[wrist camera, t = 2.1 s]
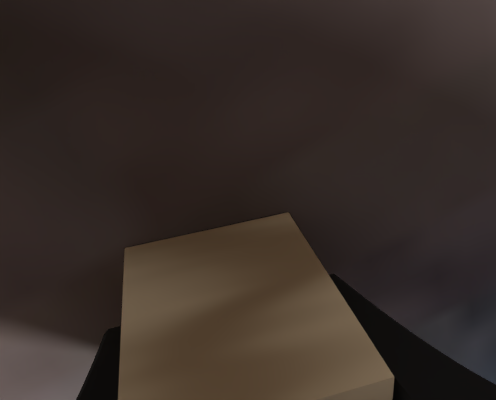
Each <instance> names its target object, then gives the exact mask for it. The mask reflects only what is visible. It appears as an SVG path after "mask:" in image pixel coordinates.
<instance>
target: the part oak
mask: <svg viewBox="0 0 496 400" xmlns="http://www.w3.org/2000/svg"><path fill="white" fill-rule="evenodd" d="M393 389H394V375H393V374H392V372H391V371H390V369H389V368H388V366H387V365H386V363H385V361H384V360H383V358H382V357H381V355H380V354H379V352H378V351H377V349H376V348H375V346H374V344H373V343H372V341H371V340H370V338H369V337H368V335H367V334H366V332H365V330H364V329H363V327H362V326H361V324H360V323H359V321H358V320H357V318H356V316H355V315H354V313H353V312H352V310H351V309H350V307H349V306H348V304H347V303H346V301H345V299H344V298H343V296H342V295H341V293H340V292H339V290H338V289H337V287H336V285H335V284H334V282H333V281H332V279H331V278H330V276H329V275H328V273H327V271H326V270H325V268H324V267H323V265H322V264H321V262H320V261H319V259H318V258H317V256H316V254H315V253H314V251H313V250H312V248H311V247H310V245H309V244H308V242H307V240H306V239H305V237H304V236H303V234H302V233H301V231H300V230H299V228H298V226H297V225H296V223H295V222H294V220H293V219H292V217H291V216H290V214H289V213H283V214H278V215H274V216H269V217H265V218H260V219H256V220H251V221H246V222H242V223H237V224H233V225H228V226H224V227H219V228H214V229H210V230H205V231H201V232H196V233H192V234H187V235H182V236H178V237H173V238H169V239H164V240H160V241H155V242H150V243H146V244H141V245H137V246H132V247H128V248H125V252H124V275H123V297H122V320H121V342H120V365H119V387H118V400H393Z"/></svg>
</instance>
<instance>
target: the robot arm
mask: <svg viewBox="0 0 496 400" xmlns="http://www.w3.org/2000/svg"><path fill="white" fill-rule="evenodd" d="M329 276H330V278H331V279H332V281H333V282H334V284H335V285H336V287H337V289H338V290H339V292H340V293H341V295H342V296H343V298H344V299H345V301H346V303H347V304H348V306H349V307H350V309H351V310H352V312H353V313H354V315H355V316H356V318H357V320H358V321H359V323H360V324H361V326H362V327H363V329H364V330H365V332H366V334H367V335H368V337H369V338H370V340H371V341H372V343H373V344H374V346H375V348H376V349H377V351H378V352H379V354H380V355H381V357H382V358H383V360H384V361H385V363H386V365H387V366H388V368H389V369H390V371H391V372H392V374H393V375H394V389H393V400H496V385H495V384H493V383H491V382H490V381H488V380H486V379H484V378H482V377H481V376H479V375H477V374H475V373H474V372H472V371H470V370H469V369H467V368H465V367H464V366H462V365H460V364H459V363H457V362H455V361H454V360H452V359H451V358H449V357H448V356H446V355H444V354H443V353H441V352H440V351H438V350H437V349H435V348H434V347H432V346H431V345H429V344H428V343H426V342H425V341H423V340H422V339H420V338H419V337H417V336H416V335H414V334H413V333H412V332H410V331H409V330H407V329H406V328H405V327H403V326H402V325H400V324H399V323H398V322H396V321H395V320H393V319H392V318H391V317H389V316H388V315H387V314H385V313H384V312H382V311H381V310H380V309H378V308H377V307H376V306H375V305H373V304H372V303H371V302H369V301H368V300H367V299H365V298H364V297H363V296H362V295H360V294H359V293H358V292H357V291H355V290H354V289H353V288H351V287H350V286H349V285H348V284H346V283H345V282H344V281H343V280H341V279H340V278H339V277H337V276H336V275H334V274H331V275H329ZM120 342H121V326H119V327H115V328H111V329H108V330H107V331H106V333H105V334H104V336H103V339H102V341H101V344H100V346H99V349H98V351H97V354H96V356H95V359H94V361H93V364H92V366H91V368H90V371H89V373H88V375H87V377H86V380H85V382H84V384H83V386H82V389H81V391H80V393H79V395H78V397H77V399H76V400H118V387H119V365H120Z"/></svg>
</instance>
